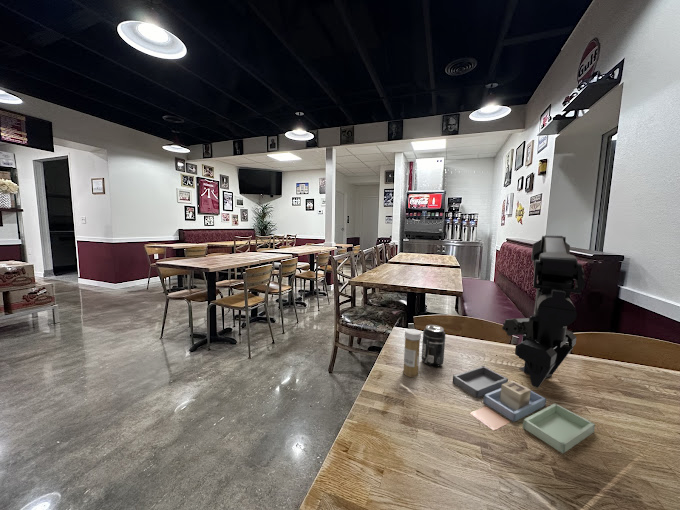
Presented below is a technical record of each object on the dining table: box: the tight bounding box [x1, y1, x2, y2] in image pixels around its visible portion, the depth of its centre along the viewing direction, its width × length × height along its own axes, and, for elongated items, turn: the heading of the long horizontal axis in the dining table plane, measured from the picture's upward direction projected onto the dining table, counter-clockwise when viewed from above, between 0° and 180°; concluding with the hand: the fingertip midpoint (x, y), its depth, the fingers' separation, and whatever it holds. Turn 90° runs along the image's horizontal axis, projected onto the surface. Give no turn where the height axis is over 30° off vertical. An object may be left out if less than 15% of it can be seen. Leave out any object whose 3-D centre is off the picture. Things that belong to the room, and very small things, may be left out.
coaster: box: [469, 405, 511, 432], centre depth 63 cm, size 6×6×1 cm
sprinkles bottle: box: [402, 328, 422, 378], centre depth 81 cm, size 5×5×13 cm
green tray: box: [522, 403, 596, 455], centre depth 60 cm, size 13×8×2 cm, turn 117°
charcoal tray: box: [452, 365, 509, 398], centre depth 76 cm, size 13×8×2 cm, turn 117°
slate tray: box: [483, 388, 547, 423], centre depth 68 cm, size 13×8×2 cm, turn 117°
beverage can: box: [421, 324, 446, 368], centre depth 88 cm, size 7×7×12 cm
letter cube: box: [500, 380, 532, 410], centre depth 68 cm, size 4×4×5 cm
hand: (542, 379), depth 61 cm, fingers open, 9 cm apart
